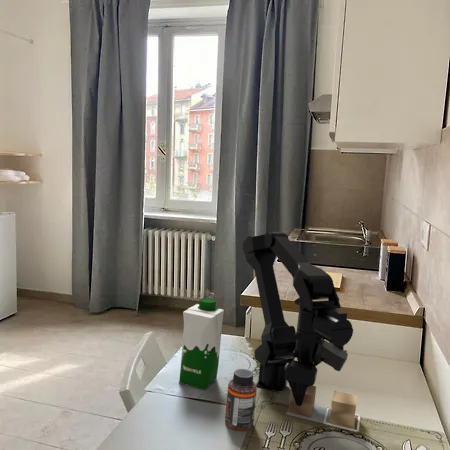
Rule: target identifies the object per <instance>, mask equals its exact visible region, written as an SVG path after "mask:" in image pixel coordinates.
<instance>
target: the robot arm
mask: <svg viewBox="0 0 450 450" xmlns="http://www.w3.org/2000/svg"><path fill="white" fill-rule="evenodd" d="M242 251H243V252H244V256H245V260H246V262H247V263H248V265H249V266H250V267H251V268H252V269H253V271H254V273H255V275H254V276H255V280H256V284H257V288H258V289H257V290H258V295H259V300H260V305H261V309H262V316H263V320H264V328H263V330H262V333H261V336H260V339H261V340H260V341H261V344H260V345H258V346H257V347H256V348H255V349H254V351H253V353H254V359H255V361H256V362H258V363H259V370H258V371H259V372H258V379H257V383H255V384H256V387H257V388H260V389H264V390H268V391H272V392H277V393H282V392H283V391H284V389H286V387H287V385H289V388H290V391H292V394H293V397H294V400H295V402H296V405H297V406H302V403H303V400H304V396H305V393H306V390H307V387H309V386H315V383H316V380H317V376H318V368H317V366H318V365H320V364H321V363H325V365H328V366H330V367H332V368H333V370H335V371H336V372H340V371H341V370H342V369H343V367H344V365H345V363H346V361H347V360H348V356H349V354H348V352H347V350H346V349H345V345H347V344H348V343H349V342H350V341H351V339H352V337H353V334H354V328H353V324H352V322H351V321H350V320H349V319H348V313H347V312H345V311H341V310H340V309H341V308H342V307H341V303H340V298H339V296H338V293H337V290H336V287H335V284H334V280H333V278H332V276H331V275H330V274H329V273H327V272H326V271H325V270H324V269H322V268H320V267H318V266H315V265H313V264H312V263H310V262H309V261H308V260H307V258H306V257H305V256H304V255H303V253H301V252H300V250H299V249H298V247H296V246H295V245H294V244H293V243H292V241H291V240H290V239H289V236H288V234H287V233H285V232H281V231H269V232H266V233H265V234H260V235H248V236H247V237H246V238H245V240H243V242H242ZM276 259H278V261H280V263H281V264H282V265H283V266H284V268H285V269H286V270H287V272H288V273H289V274H290V275H291V276H292V286H293V289H294V290H295V291H296V293H297V295H298V297H297V298H296V299H295V300H294V301H293V303H294V304H295V305H297V306H298V307H299V308H298V315H297V316H298V317H297V325H296V328H295V325H289V324H288V323H287V322H286V320H285V317H284V312H283V307H282V301H281V296H280V292H279V288H278V283H277V277H276V274H275V269H274V265H275V262H276ZM296 359H297V360H296Z"/></svg>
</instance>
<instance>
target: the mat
mask: <svg viewBox="0 0 450 450" xmlns="http://www.w3.org/2000/svg"><path fill="white" fill-rule="evenodd" d="M288 409H289V407H288ZM288 409H287V410H286V411H287V412H286V413H285V415H288V416H291V417H297V418H300V419H305V420H308V421H311V422H316V423H320V424H323V422H324V418H325V414H326V411H327V407H324V406H321V405H320V406H319V405H315V404H314V409H313V412H312V415H311V418H310V417H306V416H302V415H298V414H294V413H290V412H288ZM330 413H331V410H330V409H329V411H328V415H327V419H326V423H330V422H329V421H330ZM356 419H357V416H355V419H354V427H353V428H350V427H346V426H342V425H338V424H334V423H330V424H334V425H338V426H342V427H346V428H350V429H354V430H356V428H355V427H356Z"/></svg>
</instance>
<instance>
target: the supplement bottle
mask: <svg viewBox="0 0 450 450" xmlns="http://www.w3.org/2000/svg"><path fill="white" fill-rule="evenodd" d="M256 384H257V383H255V381H254V373H253V372H252V371H251V370H249V369H246V368H237V369H235V370H234V371H233V377H232V379H231V380H230V381H228V384H227V385H228V386H227V394H226V405H225V416H224V418H225V419H224V422H225V424H226V426H227V427H228V428H229V429H232V430H233V431H237V432H243V431H248V430H250V429H252V428H253V425H254V420H255V409H256V400H257V391H258V389H257V388H258V387H256Z"/></svg>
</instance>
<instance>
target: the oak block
mask: <svg viewBox="0 0 450 450" xmlns="http://www.w3.org/2000/svg"><path fill="white" fill-rule="evenodd" d="M357 402H358V395H356V394H352V393H351V394H350V393H347V392H342V391H338V390H333V395H332V399H331V407H330V408H331V413H330V421H329V422H330V423H334V424H338V425H342V426H346V427H350V428H353V427H354V419H355V414H356V409H357V404H358V403H357Z"/></svg>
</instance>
